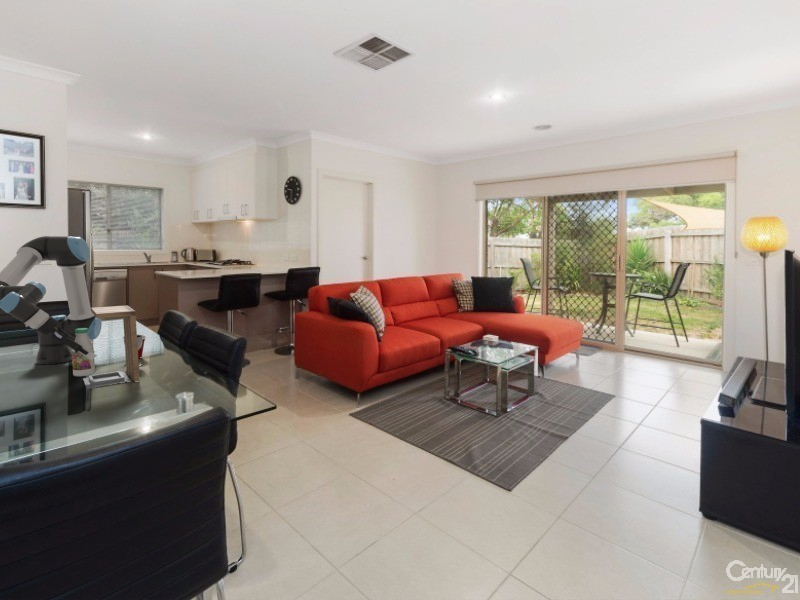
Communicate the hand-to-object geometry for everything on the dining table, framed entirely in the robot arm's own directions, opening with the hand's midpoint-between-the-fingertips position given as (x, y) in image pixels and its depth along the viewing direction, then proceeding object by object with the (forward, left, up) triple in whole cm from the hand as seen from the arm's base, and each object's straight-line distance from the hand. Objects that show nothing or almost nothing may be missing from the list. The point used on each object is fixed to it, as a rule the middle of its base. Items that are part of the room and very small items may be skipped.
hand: (93, 356), depth 188 cm
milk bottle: (0, -4, -8) cm, 9 cm away
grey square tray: (-1, +4, -12) cm, 13 cm away
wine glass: (-21, +18, -12) cm, 30 cm away
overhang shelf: (-1, +8, -12) cm, 15 cm away
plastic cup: (-36, +21, -12) cm, 44 cm away
